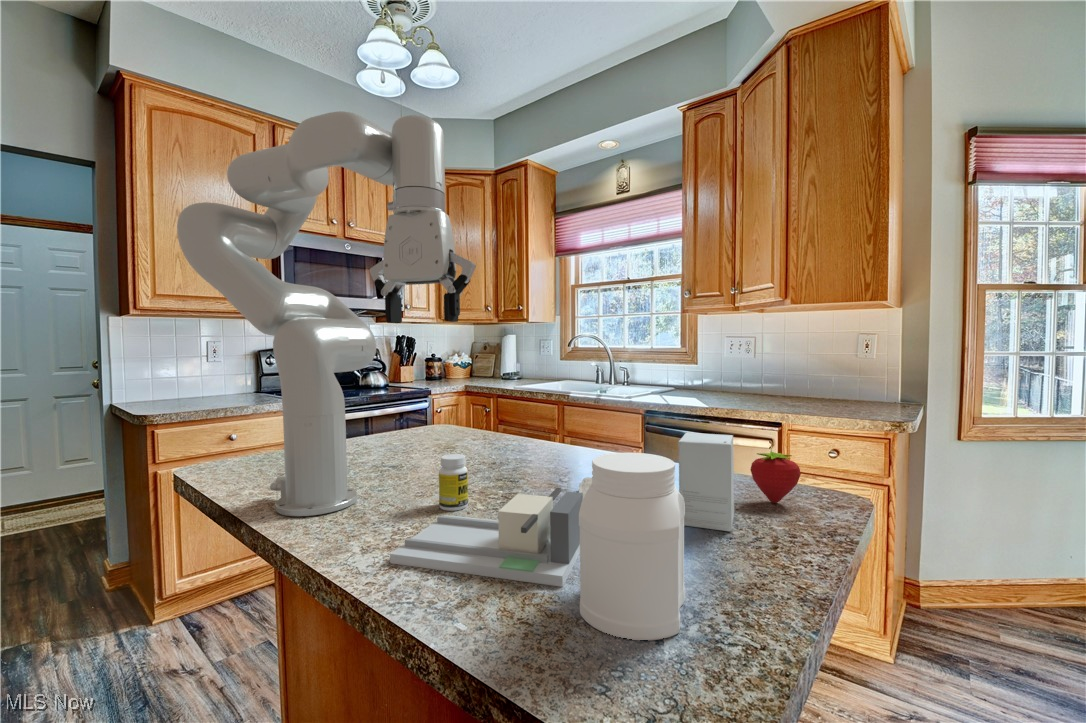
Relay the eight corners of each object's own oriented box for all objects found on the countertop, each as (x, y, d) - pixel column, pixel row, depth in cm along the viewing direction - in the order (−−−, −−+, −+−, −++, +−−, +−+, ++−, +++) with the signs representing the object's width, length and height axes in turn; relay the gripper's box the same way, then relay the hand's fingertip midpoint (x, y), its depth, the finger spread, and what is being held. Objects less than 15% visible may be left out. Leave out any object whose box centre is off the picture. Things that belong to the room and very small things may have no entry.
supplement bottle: (462, 512, 78) (461, 460, 78) (434, 510, 79) (433, 459, 79) (472, 502, 83) (471, 453, 83) (446, 501, 84) (445, 452, 84)
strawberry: (803, 511, 77) (803, 448, 76) (751, 506, 79) (751, 445, 79) (797, 499, 82) (798, 440, 82) (749, 495, 85) (749, 438, 84)
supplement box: (735, 515, 75) (735, 434, 75) (731, 533, 68) (731, 444, 68) (685, 509, 78) (685, 431, 78) (677, 525, 72) (677, 440, 71)
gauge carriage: (485, 566, 56) (484, 523, 56) (527, 519, 71) (527, 485, 70) (526, 572, 54) (526, 527, 54) (561, 522, 69) (560, 487, 69)
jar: (676, 650, 43) (676, 481, 42) (572, 629, 46) (570, 472, 46) (686, 588, 54) (686, 452, 53) (601, 574, 57) (600, 446, 56)
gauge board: (390, 563, 60) (388, 505, 60) (444, 522, 74) (443, 475, 74) (562, 586, 54) (561, 522, 54) (587, 537, 67) (587, 486, 67)
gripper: (354, 205, 72) (357, 322, 72) (461, 194, 67) (463, 319, 67) (384, 218, 79) (387, 324, 79) (483, 208, 74) (485, 321, 75)
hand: (422, 322), depth 73 cm, fingers open, 9 cm apart
